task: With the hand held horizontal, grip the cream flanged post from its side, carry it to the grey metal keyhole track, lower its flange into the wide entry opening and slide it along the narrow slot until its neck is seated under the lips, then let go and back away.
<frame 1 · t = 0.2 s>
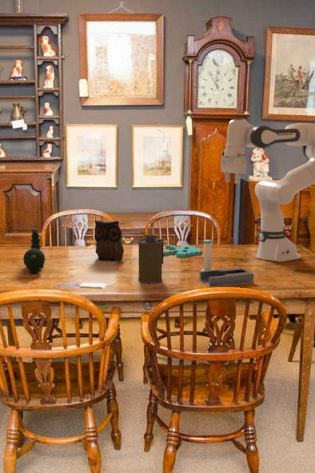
hand: (232, 182, 242), 39 cm above the table, tool pointing down, fingers open, 8 cm apart
flanged post: (207, 272, 231), on the table
keyhole track: (226, 281, 218), on the table
canister: (150, 280, 219), on the table
alien figure: (181, 253, 268), on the table
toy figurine: (35, 270, 235), on the table
owl: (111, 259, 255), on the table
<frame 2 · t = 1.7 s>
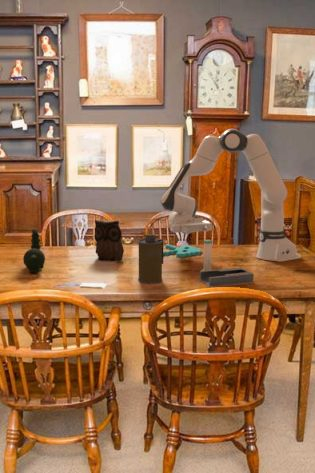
hand: (197, 230, 238), 17 cm above the table, tool horizontal, fingers open, 8 cm apart
nothing on the table moved.
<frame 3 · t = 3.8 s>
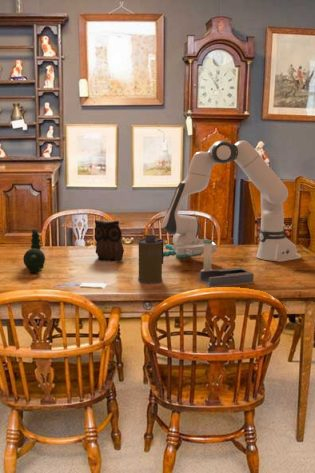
hand: (202, 252, 235), 8 cm above the table, tool horizontal, fingers open, 8 cm apart
nothing on the table moved.
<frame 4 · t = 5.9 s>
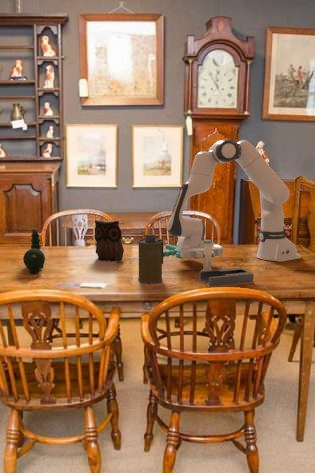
hand: (208, 255, 228), 8 cm above the table, tool horizontal, fingers closed on flanged post, 3 cm apart
flanged post: (207, 272, 231), on the table, touching gripper
everything else where it was.
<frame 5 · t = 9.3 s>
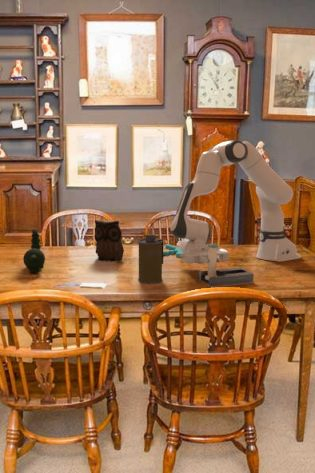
hand: (213, 260, 213), 10 cm above the table, tool horizontal, fingers closed on flanged post, 3 cm apart
flanged post: (211, 278, 215), point 2 cm above the table, touching gripper
everything else where it was.
when the fingers open (9 cm above the table, at t = 13.0 s): flanged post stays where it is, resting on keyhole track.
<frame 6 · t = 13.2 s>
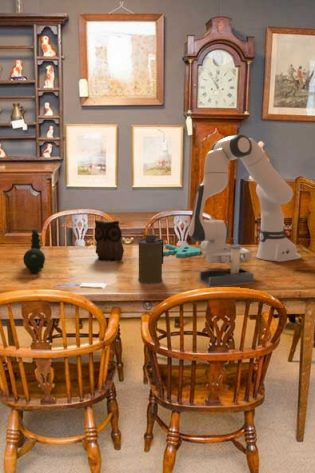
hand: (236, 260, 216), 9 cm above the table, tool horizontal, fingers open, 5 cm apart
flanged post: (234, 279, 219), resting on keyhole track
everything else where it was.
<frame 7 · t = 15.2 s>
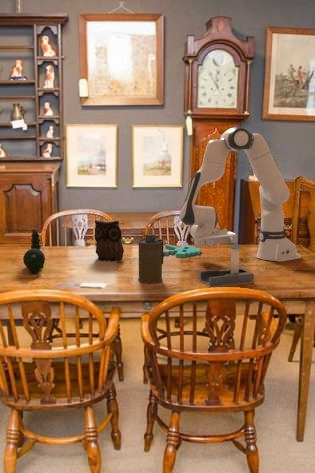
hand: (222, 242, 229), 14 cm above the table, tool horizontal, fingers open, 8 cm apart
nothing on the table moved.
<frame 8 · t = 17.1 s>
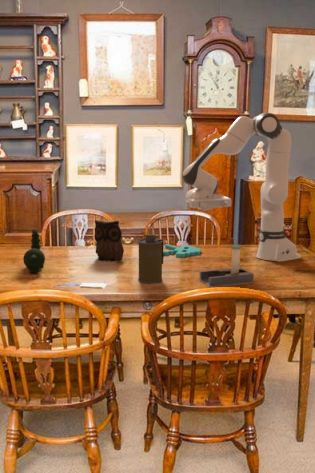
hand: (217, 205, 230), 30 cm above the table, tool horizontal, fingers open, 8 cm apart
nothing on the table moved.
at the end: flanged post 0.9 cm from the target spot on the keyhole track, point 0.4 cm above the keyhole track's base; flanged post tilted 1°; the gripper is holding nothing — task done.
